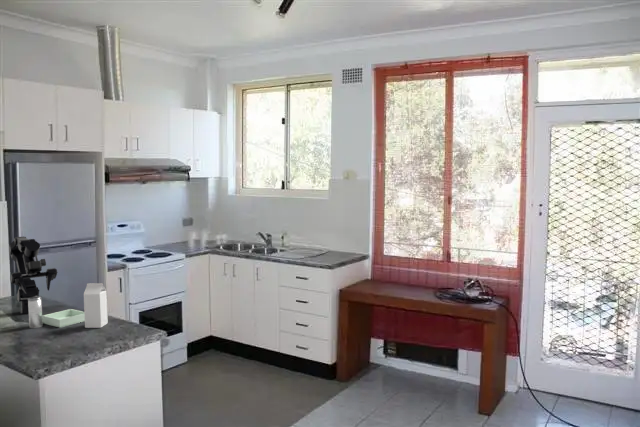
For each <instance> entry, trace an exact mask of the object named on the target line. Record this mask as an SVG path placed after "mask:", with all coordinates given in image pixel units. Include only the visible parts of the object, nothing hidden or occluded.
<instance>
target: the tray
mask: <svg viewBox="0 0 640 427" xmlns="http://www.w3.org/2000/svg"><path fill="white" fill-rule="evenodd" d="M42 322H43V324H44V325H49V326H53V327H56V328H59V329H61V328H64V327H68V326H71V325H76V324H80V322H81V323H85V314H84V311H82V310H79V309H73V308H68V309H64V310H61V311H60V310H59V311H56V312H52V313H48V314H42Z"/></svg>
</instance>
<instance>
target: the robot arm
mask: <svg viewBox="0 0 640 427" xmlns="http://www.w3.org/2000/svg"><path fill="white" fill-rule="evenodd" d="M40 249H41V244H40V243H39V242H38V240H36V239H34V238H30V239H28V238H27V236H16V237H14V239H13V241H12V242H10V244H9V247H8V254H9V256H10V257H11V260H12V261H14V262H15V263H16V267H17V271H16V272H12V273H11V275H10V278H9V279H10V284H11V285H15V286H18V290H17V294H16V299H17V302H18V303H20V304H21V310H20V315H25V314H26V315H27V314H29V309H28V298H29V297H34V296H40V289H39V287H37V284H36V280H35V279H34V278H42V277H45V278H46V279H45V282H46V289H47V291H48V292H49V291H50V287H51V282H52V281H54V280H55V279H56V278H57V275H58V269H57V268H55V267H53V268H47V269H46V271H42V270H43V269H42V268H43V267H46V266H47V262H46V258H41V259H40V260H39V259H38V255H39V252H40ZM41 271H42V272H41Z"/></svg>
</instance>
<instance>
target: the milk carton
mask: <svg viewBox="0 0 640 427" xmlns="http://www.w3.org/2000/svg"><path fill="white" fill-rule="evenodd" d="M107 295H108V294H107V289H106V287H105V286H104V283H92V282H91V283H90V282H89V283H86V287H85V290H84V292H83V310H84V311H83V312H84V314H85V321H84V328H86V329H93V328H95V329H96V328H97V329H98V328H99V329H100V328H103V327H104V326H106V325H107V324H108V323H109V322H108V318H109V317H108V300H107V299H108V297H107Z"/></svg>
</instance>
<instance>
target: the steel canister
mask: <svg viewBox="0 0 640 427" xmlns="http://www.w3.org/2000/svg"><path fill="white" fill-rule="evenodd" d="M42 306H43V303H42V296H40V295H39V296H34V297H29V298H28V309H29V313H28V323H29V326H28V327H29V328H30V329H37V328H39V329H40V328H42V327H43V326H44V325H43V324H44V323H43V322H42V315H43V307H42Z"/></svg>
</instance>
